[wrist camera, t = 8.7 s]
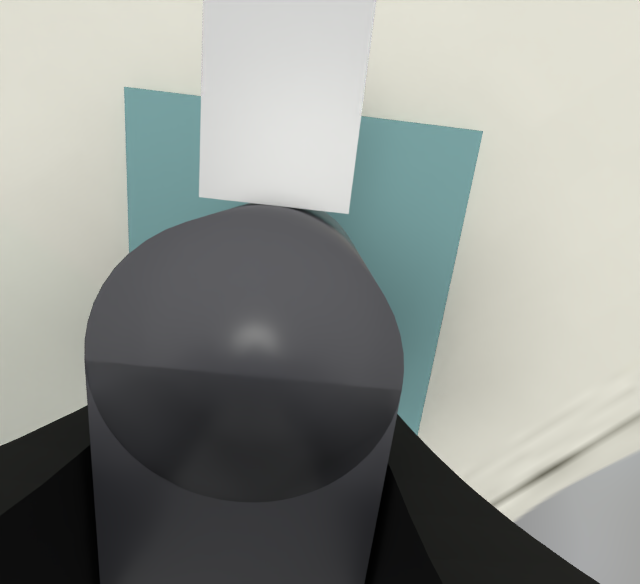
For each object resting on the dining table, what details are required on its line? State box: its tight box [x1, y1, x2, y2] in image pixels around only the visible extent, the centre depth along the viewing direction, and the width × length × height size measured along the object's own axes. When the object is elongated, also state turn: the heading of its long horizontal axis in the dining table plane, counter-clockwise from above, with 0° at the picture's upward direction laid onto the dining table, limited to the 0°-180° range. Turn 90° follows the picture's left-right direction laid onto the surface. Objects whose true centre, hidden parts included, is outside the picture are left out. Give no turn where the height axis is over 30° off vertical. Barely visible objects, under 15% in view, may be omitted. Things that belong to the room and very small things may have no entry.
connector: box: [85, 0, 404, 584], centre depth 8 cm, size 13×4×5 cm, turn 174°
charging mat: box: [124, 87, 483, 435], centre depth 16 cm, size 16×13×1 cm
